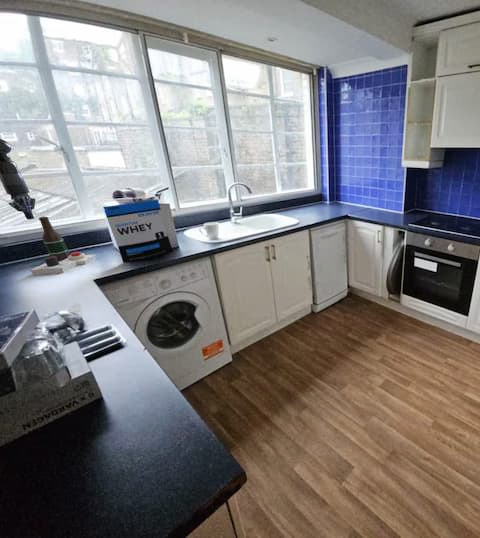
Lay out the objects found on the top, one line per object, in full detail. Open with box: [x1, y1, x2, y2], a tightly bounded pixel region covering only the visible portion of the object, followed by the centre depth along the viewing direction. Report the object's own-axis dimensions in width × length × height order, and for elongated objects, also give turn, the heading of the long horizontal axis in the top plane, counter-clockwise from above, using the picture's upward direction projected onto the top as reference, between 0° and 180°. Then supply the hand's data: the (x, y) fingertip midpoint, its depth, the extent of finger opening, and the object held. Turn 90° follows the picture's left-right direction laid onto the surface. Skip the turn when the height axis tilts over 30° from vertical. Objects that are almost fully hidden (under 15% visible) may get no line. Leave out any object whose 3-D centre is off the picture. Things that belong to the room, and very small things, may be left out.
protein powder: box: [102, 199, 173, 264], centre depth 160 cm, size 10×24×30 cm, turn 140°
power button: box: [70, 251, 81, 257], centre depth 158 cm, size 4×4×2 cm
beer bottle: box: [38, 216, 71, 262], centre depth 160 cm, size 8×8×24 cm
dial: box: [43, 256, 60, 267], centre depth 148 cm, size 4×4×4 cm
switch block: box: [60, 252, 98, 266], centre depth 159 cm, size 12×10×4 cm
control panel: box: [30, 260, 78, 276], centre depth 149 cm, size 13×10×3 cm
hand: (30, 219), depth 147 cm, fingers closed
